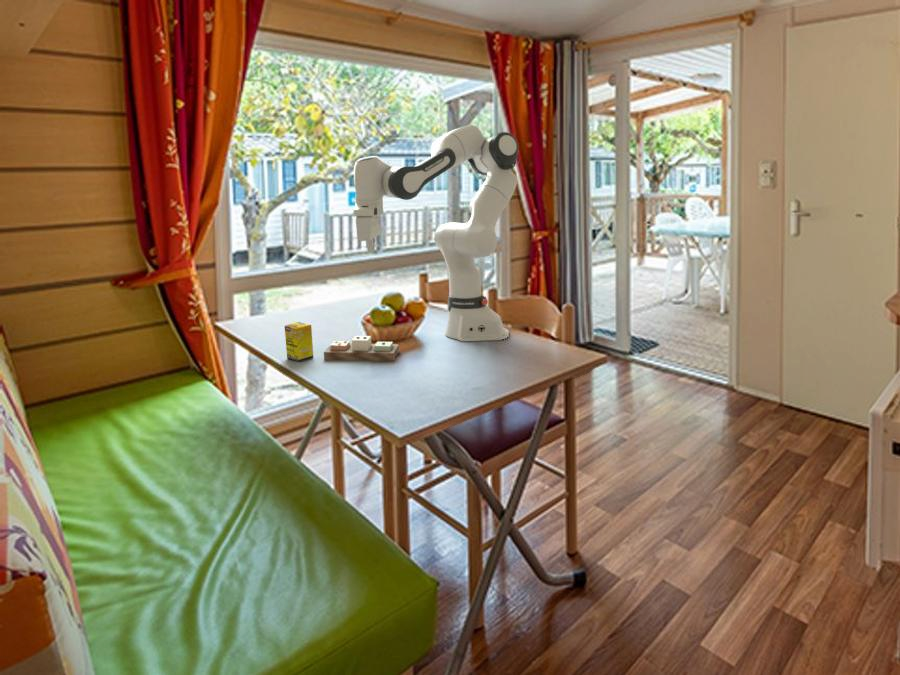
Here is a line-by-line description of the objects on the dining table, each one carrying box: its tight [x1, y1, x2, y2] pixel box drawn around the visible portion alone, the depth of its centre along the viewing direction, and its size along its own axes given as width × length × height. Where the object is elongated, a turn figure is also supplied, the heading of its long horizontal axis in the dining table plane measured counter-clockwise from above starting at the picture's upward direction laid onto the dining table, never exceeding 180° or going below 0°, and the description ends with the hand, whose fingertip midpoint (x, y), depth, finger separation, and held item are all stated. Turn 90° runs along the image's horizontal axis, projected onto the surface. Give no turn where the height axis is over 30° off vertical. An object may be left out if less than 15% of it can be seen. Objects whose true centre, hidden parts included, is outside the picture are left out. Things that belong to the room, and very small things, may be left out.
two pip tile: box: [351, 335, 372, 351], centre depth 199 cm, size 5×5×4 cm
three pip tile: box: [329, 340, 351, 350], centre depth 200 cm, size 5×5×4 cm
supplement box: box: [284, 321, 314, 363], centre depth 196 cm, size 6×6×11 cm
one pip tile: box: [374, 341, 394, 351], centre depth 198 cm, size 5×5×4 cm
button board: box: [323, 342, 400, 362], centre depth 199 cm, size 22×10×2 cm, turn 85°
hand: (371, 251), depth 205 cm, fingers closed
